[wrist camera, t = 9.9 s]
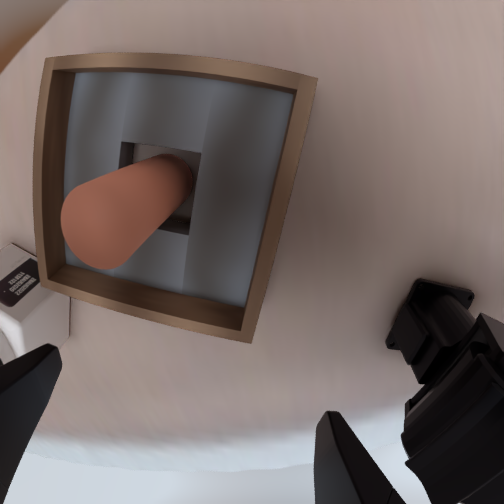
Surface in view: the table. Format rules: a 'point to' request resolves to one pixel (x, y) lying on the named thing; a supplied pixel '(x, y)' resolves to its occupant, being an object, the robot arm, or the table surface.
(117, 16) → the table surface
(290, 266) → the table surface
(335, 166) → the table surface
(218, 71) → the box
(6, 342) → the container
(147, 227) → the peg
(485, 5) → the table surface
